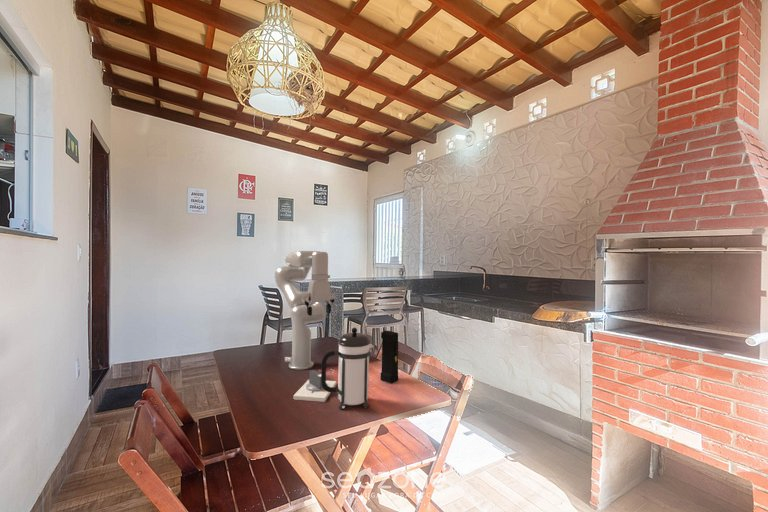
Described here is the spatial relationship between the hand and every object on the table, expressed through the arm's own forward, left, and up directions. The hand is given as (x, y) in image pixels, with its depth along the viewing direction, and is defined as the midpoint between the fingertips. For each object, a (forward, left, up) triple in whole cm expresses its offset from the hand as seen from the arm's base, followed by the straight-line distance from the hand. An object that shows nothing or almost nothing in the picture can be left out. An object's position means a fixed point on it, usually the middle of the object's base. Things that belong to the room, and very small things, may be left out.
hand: (319, 314), depth 160 cm
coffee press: (+21, -24, -31) cm, 44 cm away
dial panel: (+4, -14, -30) cm, 34 cm away
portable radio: (+34, +3, -31) cm, 46 cm away
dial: (+4, -14, -29) cm, 32 cm away
